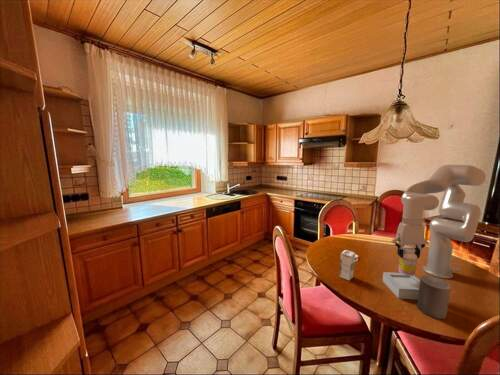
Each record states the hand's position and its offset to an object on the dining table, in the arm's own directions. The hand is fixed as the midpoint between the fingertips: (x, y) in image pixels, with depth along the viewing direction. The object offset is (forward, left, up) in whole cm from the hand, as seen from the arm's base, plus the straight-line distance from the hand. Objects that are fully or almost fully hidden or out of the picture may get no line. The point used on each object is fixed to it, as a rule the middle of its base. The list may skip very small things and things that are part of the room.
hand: (408, 256), depth 100 cm
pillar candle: (-3, +14, -18) cm, 23 cm away
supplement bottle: (0, 0, -9) cm, 9 cm away
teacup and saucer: (+12, -30, -19) cm, 37 cm away
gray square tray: (0, 0, -18) cm, 18 cm away
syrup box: (+25, -9, -18) cm, 32 cm away
